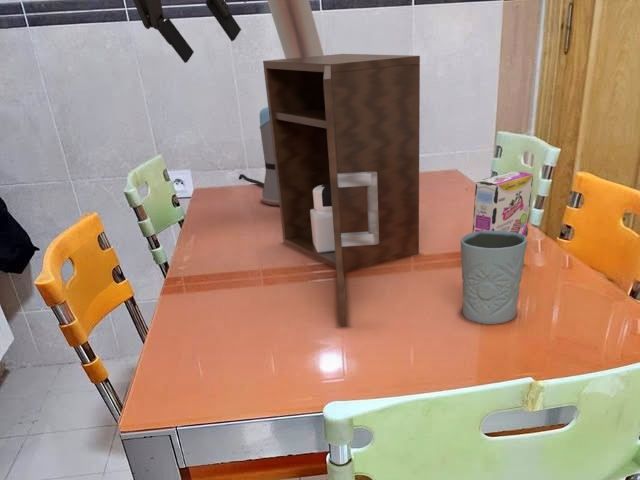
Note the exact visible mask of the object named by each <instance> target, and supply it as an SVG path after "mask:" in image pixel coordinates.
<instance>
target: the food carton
mask: <svg viewBox="0 0 640 480" xmlns="http://www.w3.org/2000/svg"><path fill="white" fill-rule="evenodd" d="M533 180H534V174H532V173H527V172H521V171H508V172H505V173H502V174H497V175H494V176H490V177H487V178H484V179H480V180H477V181H475V190H474V205H473V220H472V233H474V232H480V231H509V232H515V233H519V234H522V235H524V236H525V237H526V238H527V236H526V233H527V227H528V225H529V224H528V222H529V215H530V208H531V198H532V188H533Z"/></svg>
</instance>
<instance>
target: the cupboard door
mask: <svg viewBox="0 0 640 480" xmlns="http://www.w3.org/2000/svg"><path fill="white" fill-rule="evenodd" d="M323 83H324V98H325V112H326V127H327V141H328V155H329V170H330V184H331V199H332V213H333V228H334V242H335V257H336V268H335V269H336V282H337V285H336V286H337V297H338V311H339V326H340V327H347V310H346V307H347V306H346V291H345V274H344V270H343V255H342V247H345V246H362V245H376V244H379V222H378V189H377V172H357V173H341V174H337V159H336V143H335V127H334V111H333V95H332V80H331V66H325V67H324V77H323ZM357 186H367V212H368V232H354V233H341V223H340V207H339V191H338V188H340V187H357Z"/></svg>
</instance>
